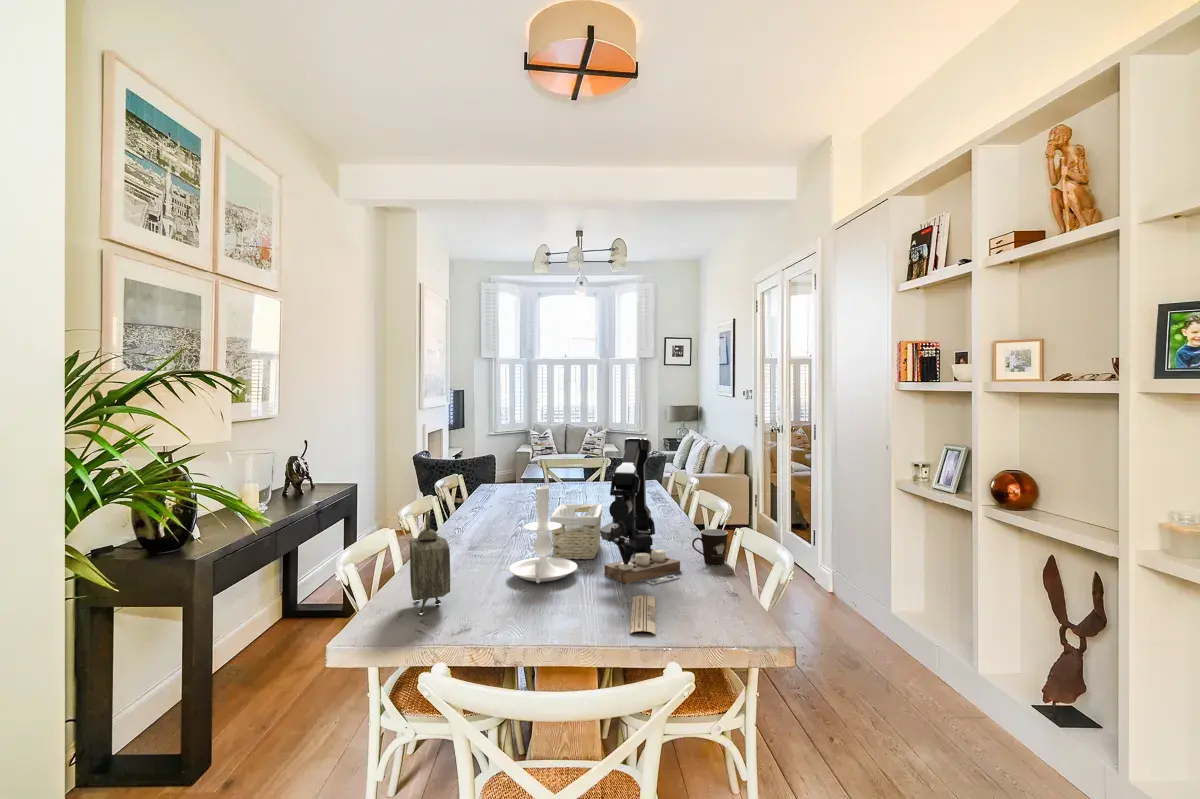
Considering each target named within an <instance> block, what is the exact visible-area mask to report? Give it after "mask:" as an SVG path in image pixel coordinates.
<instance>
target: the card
mask: <svg viewBox="0 0 1200 799" xmlns="http://www.w3.org/2000/svg"><path fill="white" fill-rule="evenodd" d="M678 579H680V577H679V576H676V575H674V574H666V575H662V576H658V577H654V578H650V579H646V580H645V581H644V583H646V584H649V585H651V586H656V585H658V584H662V583H668V582H671V581H675V580H678Z"/></svg>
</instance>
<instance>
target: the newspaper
mask: <svg viewBox="0 0 1200 799" xmlns="http://www.w3.org/2000/svg"><path fill="white" fill-rule="evenodd" d="M655 599H656V598H655V597H653V596H650V595H645V594H644V595H636V596H632V601H631V602H632V603H631V614H630V626H629V627H630V628H629V634H630V635H631V634H632V635H633V634H634V633H637V632H648V633H651V634H652V636H656V635H657V634H656V629H657V628H656V603H655V602H656V601H655Z"/></svg>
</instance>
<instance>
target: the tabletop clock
mask: <svg viewBox="0 0 1200 799" xmlns="http://www.w3.org/2000/svg"><path fill="white" fill-rule="evenodd" d="M430 517H431V516H430V513H429V512H428V511H426V512H425V529H423V530H421V532H419V533H418V536H417V537H415V538H409V573H410V574H409V576H410V577H409V578H410V579H409V580H410V592H411V598H412V601H416V600H420V601H422V602H421V606H420V608H419V609H418V611H417V614H418V613H423V612H424V613H425V609H424V607H425V605H426V603H427V601H428V600H429V599H435V601H434V605H435V604H439V603H441V604H442V601H441V600H440V599H439V598H442V597H445V596H446V595H448V594H449V593H450V592H451V555H450V554H451V552H450V551H451V550H450V544H449V543H448V541H447V539H446V538H444V537H441V536H440V535H438V533H437V531H435V529H432V528H431V524H430V521H431V520H430V519H431V518H430Z"/></svg>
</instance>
